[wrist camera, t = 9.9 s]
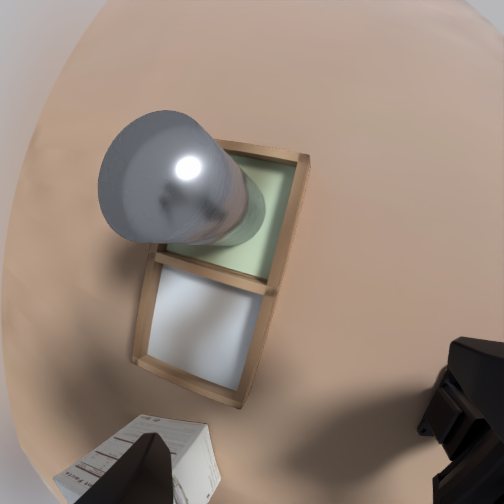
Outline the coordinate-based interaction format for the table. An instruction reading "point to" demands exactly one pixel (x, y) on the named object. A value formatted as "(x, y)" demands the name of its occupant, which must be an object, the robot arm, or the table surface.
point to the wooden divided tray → (221, 288)
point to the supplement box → (182, 457)
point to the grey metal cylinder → (176, 186)
